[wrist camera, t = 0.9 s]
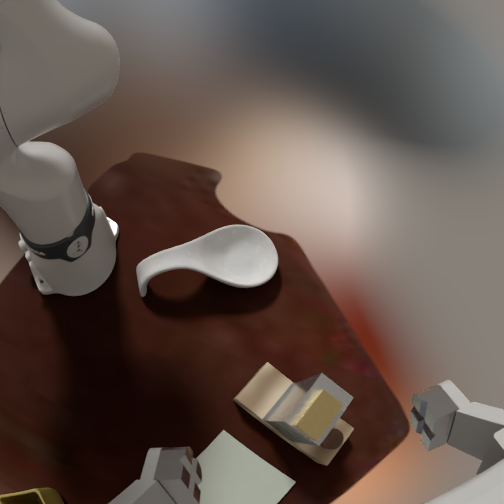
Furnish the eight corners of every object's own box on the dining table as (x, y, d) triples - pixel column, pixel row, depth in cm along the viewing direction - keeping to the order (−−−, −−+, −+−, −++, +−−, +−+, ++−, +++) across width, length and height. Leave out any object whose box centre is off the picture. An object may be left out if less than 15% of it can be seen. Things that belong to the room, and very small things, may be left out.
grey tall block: (264, 420, 39) (287, 421, 29) (295, 383, 42) (325, 371, 32) (292, 441, 38) (323, 446, 28) (321, 403, 41) (358, 396, 31)
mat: (170, 483, 35) (170, 484, 35) (223, 429, 41) (223, 430, 41) (244, 534, 33) (245, 535, 32) (294, 481, 38) (296, 481, 38)
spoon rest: (260, 230, 60) (268, 207, 54) (283, 286, 55) (295, 268, 49) (133, 256, 52) (126, 234, 46) (146, 320, 48) (139, 305, 41)
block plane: (232, 399, 44) (237, 397, 39) (262, 366, 47) (270, 360, 42) (317, 462, 40) (331, 466, 35) (342, 428, 44) (358, 428, 39)
